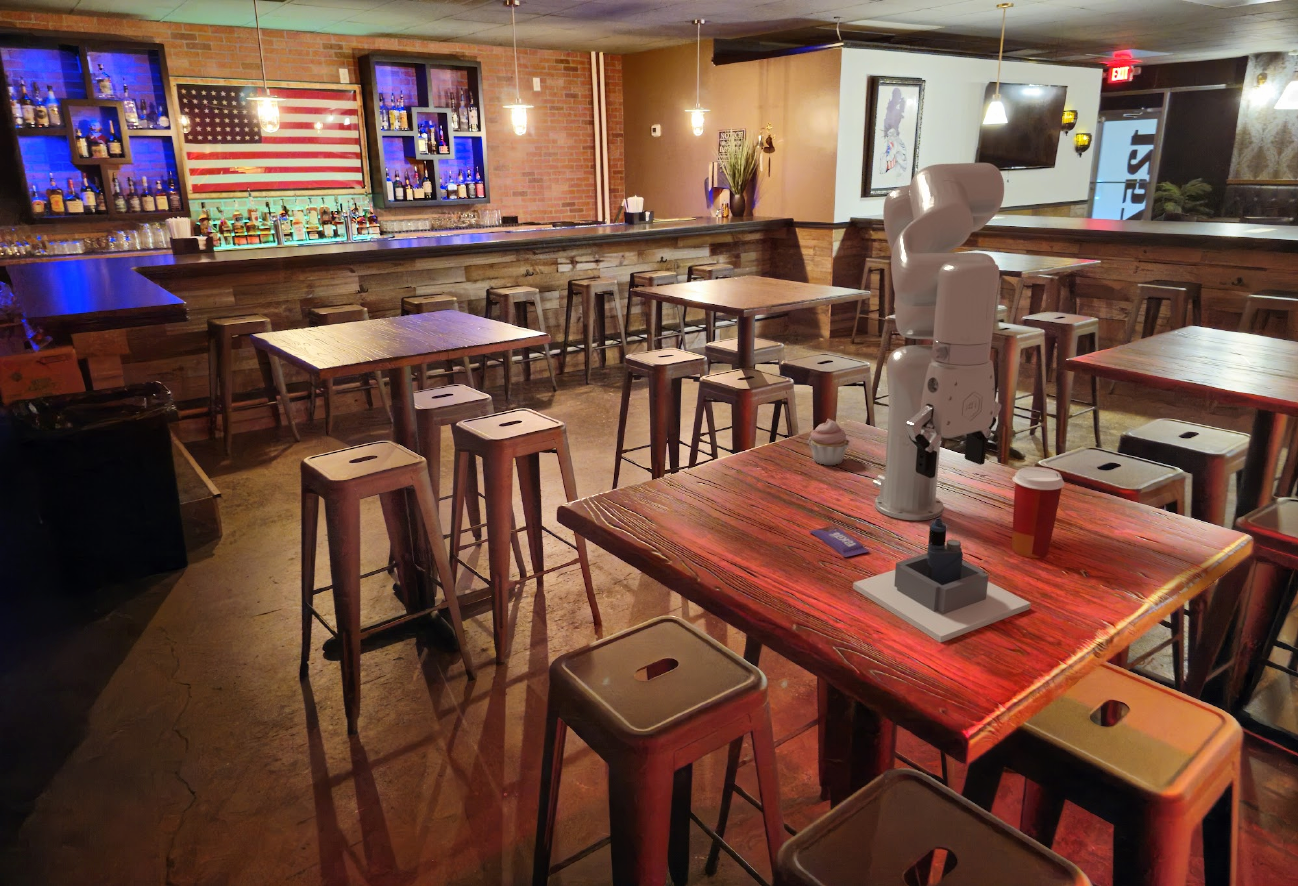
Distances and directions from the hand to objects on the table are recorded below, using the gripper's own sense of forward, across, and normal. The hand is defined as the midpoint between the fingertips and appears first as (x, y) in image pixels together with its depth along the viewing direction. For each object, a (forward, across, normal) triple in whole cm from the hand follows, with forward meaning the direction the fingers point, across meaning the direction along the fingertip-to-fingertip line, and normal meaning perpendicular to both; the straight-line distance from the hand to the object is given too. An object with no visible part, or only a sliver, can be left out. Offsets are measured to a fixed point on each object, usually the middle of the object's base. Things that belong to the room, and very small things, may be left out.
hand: (950, 468), depth 119 cm
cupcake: (+22, +25, +56) cm, 66 cm away
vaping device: (+20, 0, 0) cm, 20 cm away
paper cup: (+22, +25, +4) cm, 33 cm away
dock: (+21, 0, 0) cm, 21 cm away
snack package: (+22, -1, +22) cm, 32 cm away
